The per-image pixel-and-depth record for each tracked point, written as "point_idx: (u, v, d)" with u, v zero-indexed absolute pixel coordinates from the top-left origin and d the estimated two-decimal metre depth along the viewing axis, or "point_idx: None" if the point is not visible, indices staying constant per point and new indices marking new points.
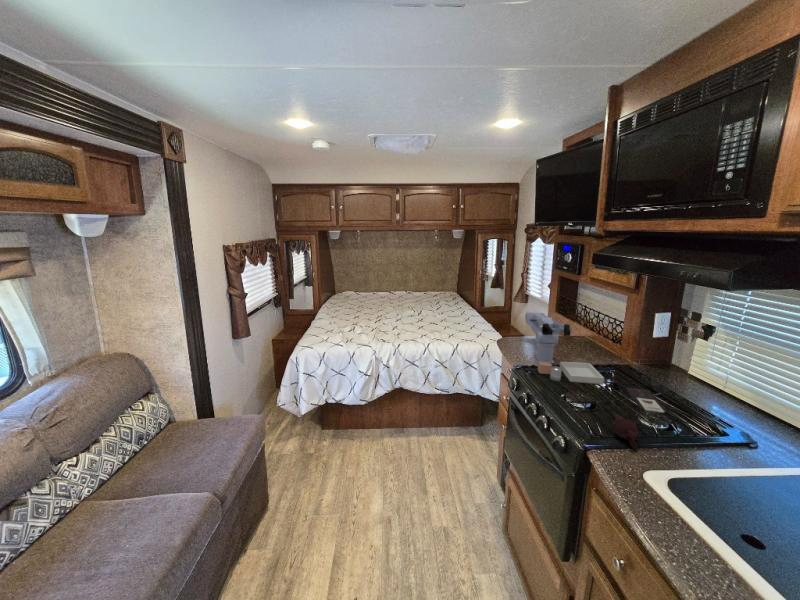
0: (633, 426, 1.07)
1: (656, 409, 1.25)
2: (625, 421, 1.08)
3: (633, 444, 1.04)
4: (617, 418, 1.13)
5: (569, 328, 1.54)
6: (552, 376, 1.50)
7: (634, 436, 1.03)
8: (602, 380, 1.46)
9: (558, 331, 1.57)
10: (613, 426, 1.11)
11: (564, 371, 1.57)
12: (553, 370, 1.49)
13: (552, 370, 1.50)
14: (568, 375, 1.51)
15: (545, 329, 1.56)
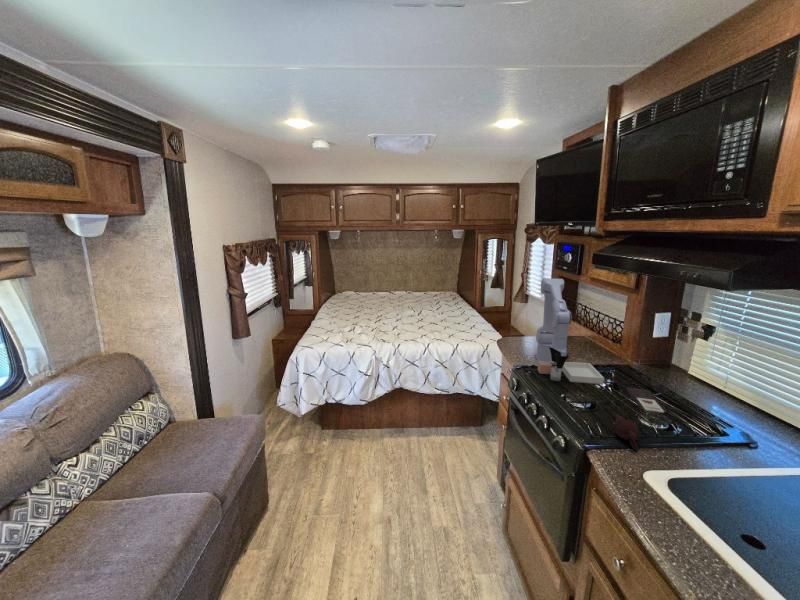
0: (634, 427, 1.07)
1: (656, 409, 1.26)
2: (626, 422, 1.08)
3: (634, 445, 1.04)
4: (617, 419, 1.13)
5: (560, 356, 1.43)
6: (552, 376, 1.50)
7: (635, 437, 1.02)
8: (602, 380, 1.46)
9: None
10: (614, 426, 1.10)
11: (564, 371, 1.57)
12: (553, 370, 1.49)
13: (552, 370, 1.50)
14: (568, 375, 1.51)
15: None
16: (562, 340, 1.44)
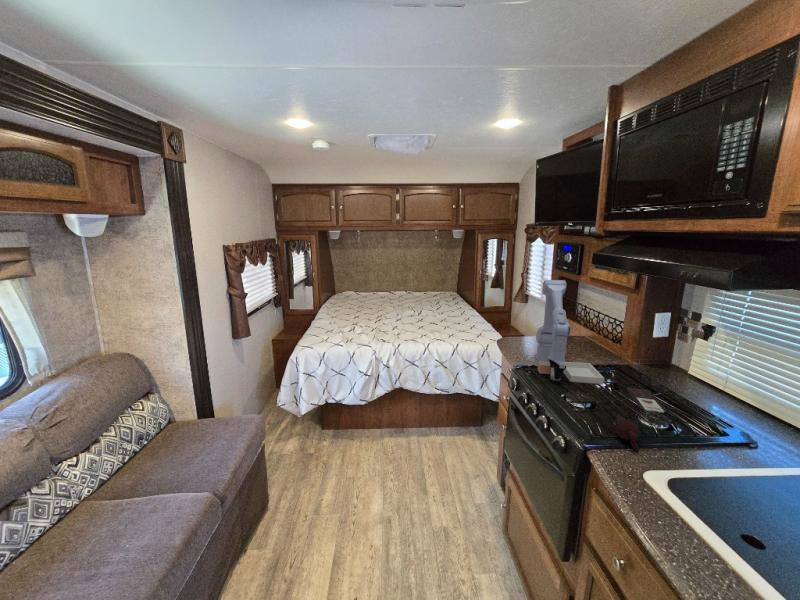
0: (634, 427, 1.06)
1: (656, 409, 1.26)
2: (626, 422, 1.08)
3: (634, 445, 1.03)
4: (618, 419, 1.12)
5: (557, 367, 1.45)
6: (552, 376, 1.50)
7: (635, 437, 1.02)
8: (602, 380, 1.46)
9: None
10: (614, 427, 1.10)
11: (564, 371, 1.57)
12: (553, 370, 1.49)
13: (552, 370, 1.50)
14: (568, 375, 1.51)
15: None
16: (561, 352, 1.45)
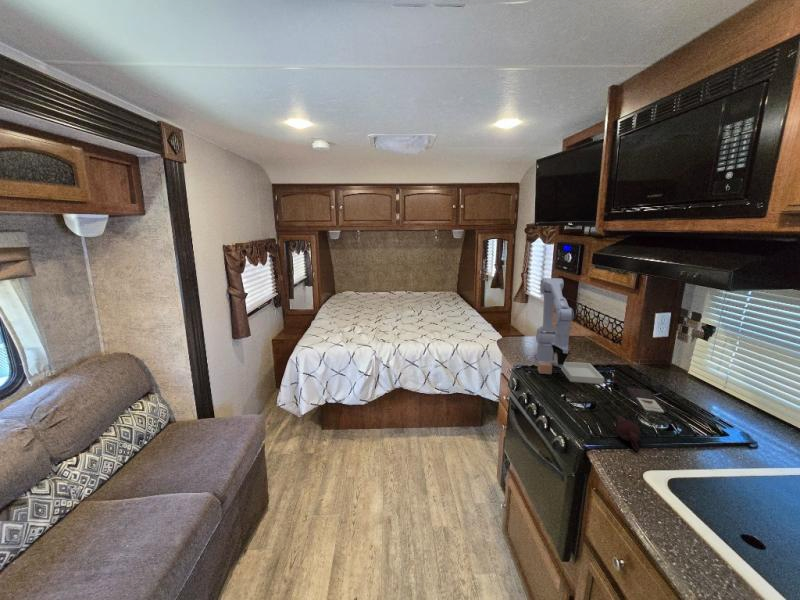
0: (635, 428, 1.06)
1: (656, 409, 1.26)
2: (627, 423, 1.07)
3: (635, 446, 1.03)
4: (619, 420, 1.12)
5: (561, 352, 1.44)
6: (555, 362, 1.49)
7: (636, 438, 1.02)
8: (602, 380, 1.46)
9: None
10: (615, 427, 1.10)
11: (564, 371, 1.57)
12: (556, 356, 1.48)
13: (555, 356, 1.49)
14: (568, 375, 1.51)
15: None
16: (564, 337, 1.44)
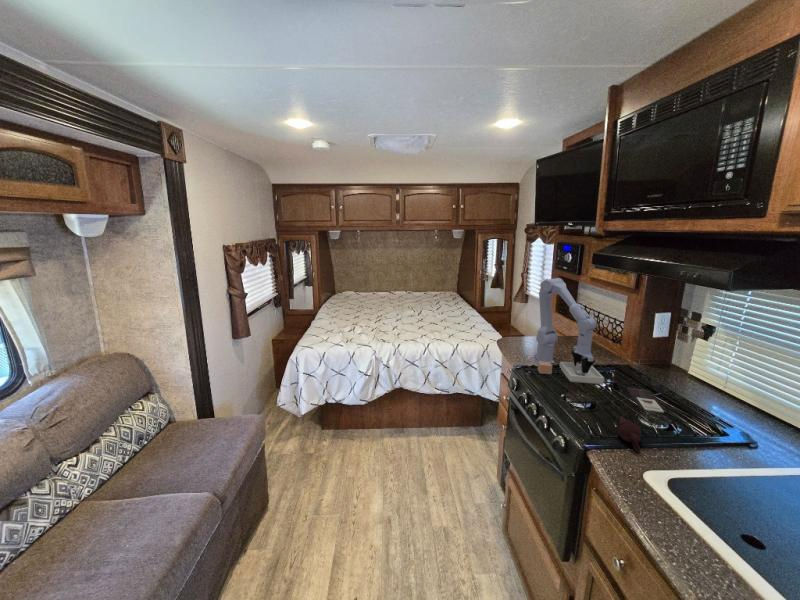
0: (637, 429, 1.05)
1: (656, 409, 1.26)
2: (629, 424, 1.07)
3: (636, 447, 1.03)
4: (621, 421, 1.11)
5: (587, 361, 1.47)
6: (578, 371, 1.54)
7: (637, 439, 1.01)
8: (602, 380, 1.46)
9: None
10: (617, 428, 1.09)
11: (564, 371, 1.57)
12: (579, 365, 1.53)
13: (578, 365, 1.53)
14: (568, 375, 1.51)
15: None
16: (587, 346, 1.49)
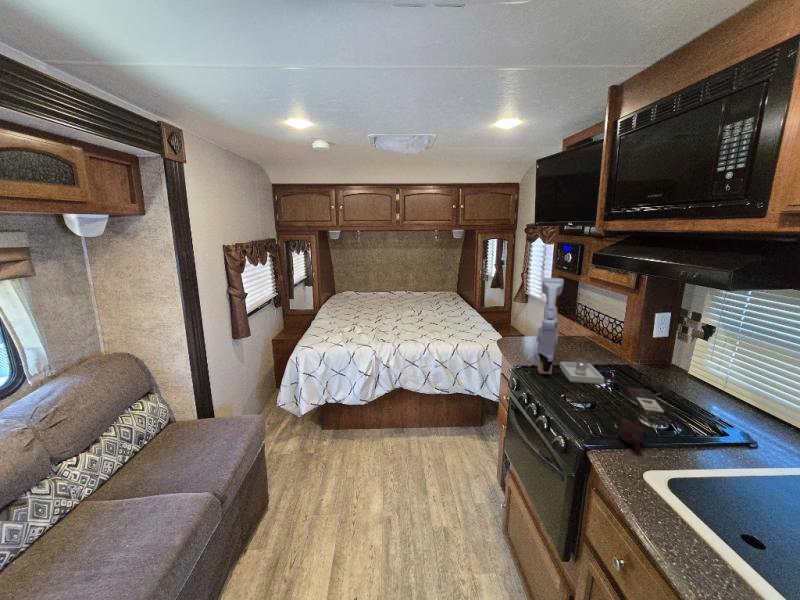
0: (638, 430, 1.05)
1: (656, 409, 1.26)
2: (630, 425, 1.06)
3: (637, 448, 1.02)
4: (623, 422, 1.11)
5: (546, 360, 1.53)
6: (578, 371, 1.54)
7: (638, 440, 1.01)
8: (602, 380, 1.46)
9: None
10: (618, 429, 1.09)
11: (564, 371, 1.57)
12: (579, 365, 1.53)
13: (578, 365, 1.53)
14: (568, 375, 1.51)
15: None
16: (549, 346, 1.53)
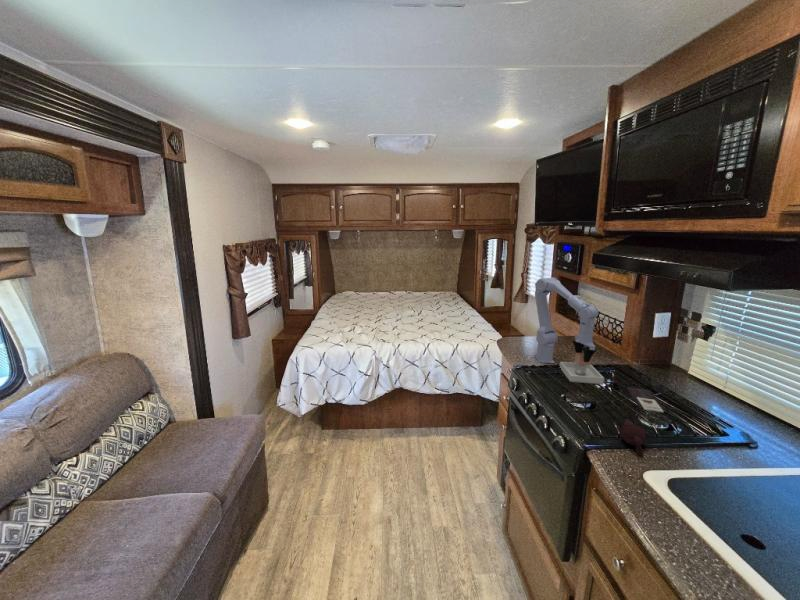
0: (640, 432, 1.04)
1: (655, 409, 1.26)
2: (632, 426, 1.05)
3: (638, 450, 1.01)
4: (625, 423, 1.10)
5: (588, 350, 1.46)
6: (579, 371, 1.53)
7: (639, 442, 1.00)
8: (602, 380, 1.46)
9: None
10: (620, 431, 1.08)
11: (564, 371, 1.57)
12: (580, 365, 1.52)
13: (579, 365, 1.53)
14: (568, 375, 1.51)
15: None
16: (589, 334, 1.48)
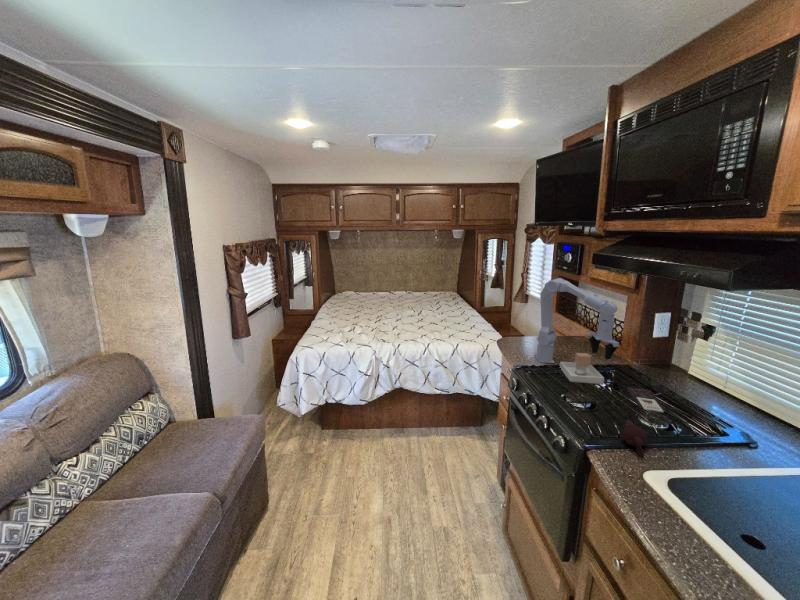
0: (642, 433, 1.03)
1: (655, 408, 1.26)
2: (634, 427, 1.05)
3: (639, 451, 1.01)
4: (626, 424, 1.10)
5: (611, 347, 1.44)
6: (579, 371, 1.53)
7: (640, 443, 0.99)
8: (602, 380, 1.46)
9: None
10: (621, 432, 1.08)
11: (564, 371, 1.57)
12: (580, 365, 1.52)
13: (579, 366, 1.53)
14: (568, 375, 1.51)
15: None
16: (610, 331, 1.46)
